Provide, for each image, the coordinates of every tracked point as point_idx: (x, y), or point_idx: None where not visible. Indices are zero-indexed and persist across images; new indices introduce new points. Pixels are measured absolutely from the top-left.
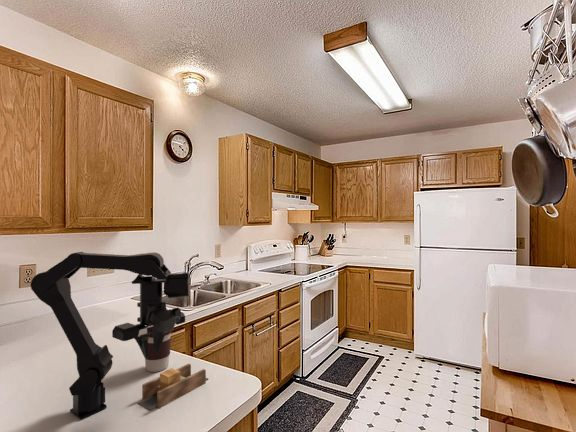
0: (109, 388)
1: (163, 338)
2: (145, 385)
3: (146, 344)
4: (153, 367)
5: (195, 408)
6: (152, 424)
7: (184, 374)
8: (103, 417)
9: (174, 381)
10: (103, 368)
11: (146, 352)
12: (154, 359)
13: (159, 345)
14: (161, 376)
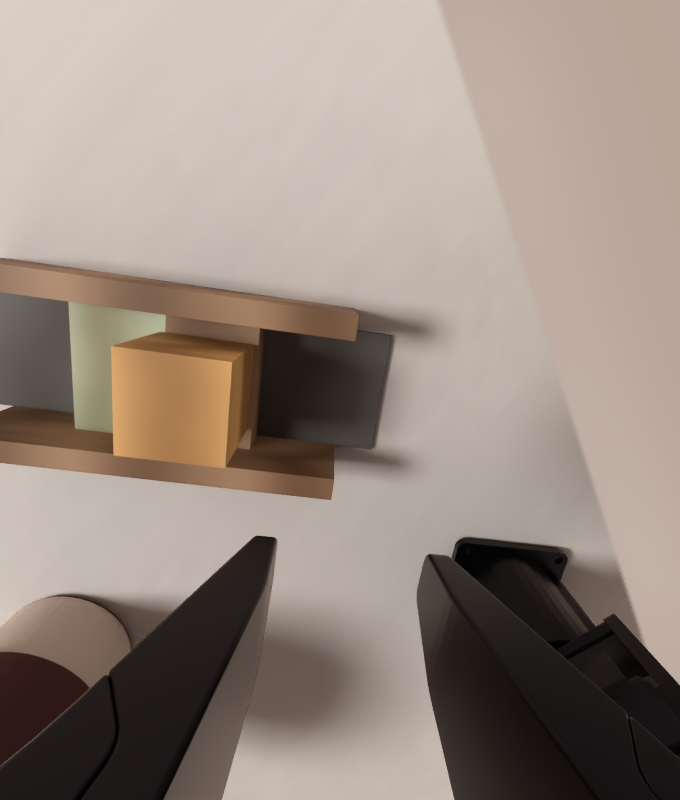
0: (336, 658)
1: (25, 749)
2: (325, 478)
3: (650, 787)
4: (106, 640)
5: (255, 88)
6: (479, 218)
7: (44, 422)
8: (515, 487)
9: (192, 344)
10: (668, 744)
11: (499, 609)
12: (75, 680)
13: (221, 615)
14: (230, 442)
